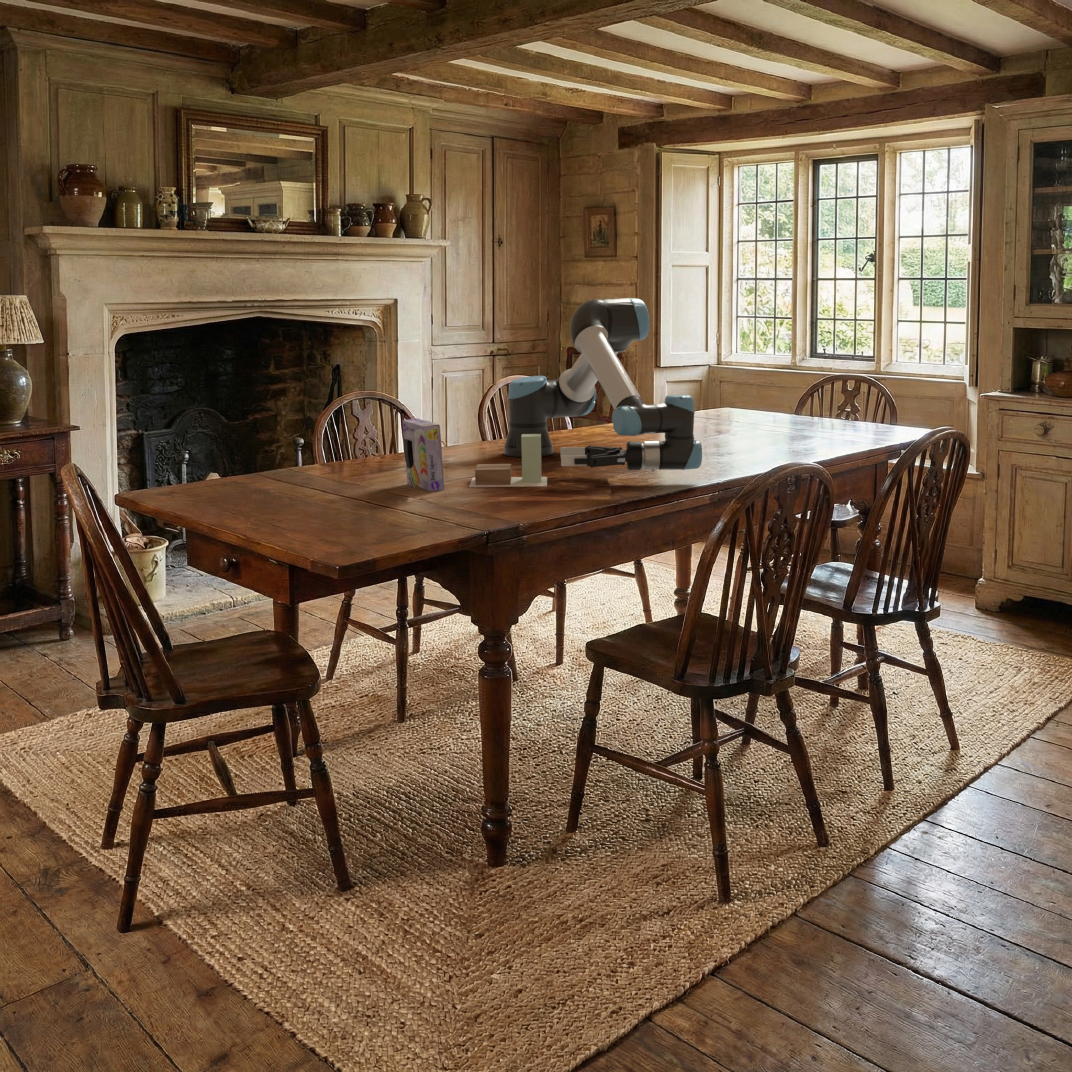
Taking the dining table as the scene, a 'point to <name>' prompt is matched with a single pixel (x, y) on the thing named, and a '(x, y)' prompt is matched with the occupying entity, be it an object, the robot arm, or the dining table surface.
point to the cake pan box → (423, 454)
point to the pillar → (531, 457)
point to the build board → (514, 483)
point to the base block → (493, 474)
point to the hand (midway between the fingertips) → (560, 456)
